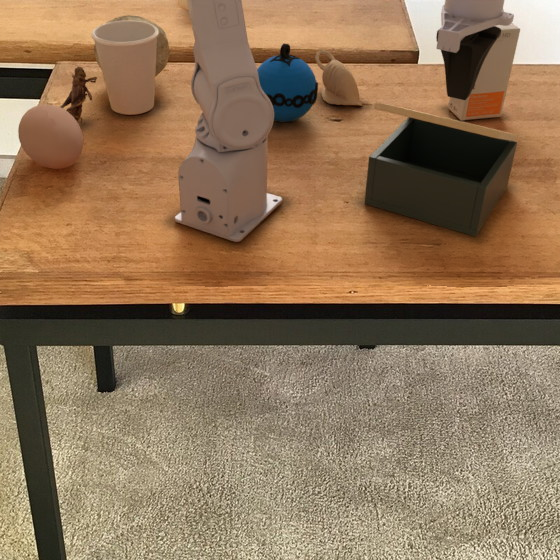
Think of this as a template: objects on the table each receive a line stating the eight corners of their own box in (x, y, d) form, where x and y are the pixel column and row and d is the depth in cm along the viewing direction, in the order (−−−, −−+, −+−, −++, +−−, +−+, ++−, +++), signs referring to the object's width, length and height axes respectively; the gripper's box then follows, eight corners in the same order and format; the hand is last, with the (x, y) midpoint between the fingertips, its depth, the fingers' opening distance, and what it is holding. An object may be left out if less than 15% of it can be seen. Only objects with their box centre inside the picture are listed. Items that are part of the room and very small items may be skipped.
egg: (11, 151, 92) (39, 188, 85) (5, 97, 88) (34, 131, 81) (66, 142, 95) (97, 176, 89) (63, 89, 91) (95, 121, 85)
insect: (66, 133, 100) (44, 124, 95) (77, 68, 100) (56, 56, 95) (96, 137, 99) (76, 128, 94) (107, 71, 99) (88, 59, 94)
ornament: (270, 100, 105) (271, 27, 99) (327, 114, 102) (331, 40, 96) (238, 124, 99) (237, 48, 93) (297, 140, 96) (300, 62, 90)
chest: (475, 237, 80) (486, 188, 76) (364, 204, 84) (368, 156, 81) (507, 187, 88) (517, 141, 84) (403, 160, 92) (409, 115, 89)
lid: (496, 138, 73) (498, 131, 73) (374, 108, 78) (375, 101, 78) (517, 141, 84) (519, 135, 84) (409, 115, 89) (410, 109, 89)
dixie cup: (158, 120, 99) (152, 44, 93) (94, 117, 100) (83, 41, 94) (169, 93, 106) (163, 20, 100) (108, 91, 106) (99, 18, 100)
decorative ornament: (336, 111, 103) (338, 73, 100) (309, 87, 109) (311, 50, 106) (363, 107, 104) (366, 68, 101) (335, 83, 110) (337, 46, 107)
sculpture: (107, 93, 109) (83, 37, 100) (107, 75, 111) (83, 19, 102) (177, 79, 108) (159, 22, 100) (176, 62, 110) (158, 5, 102)
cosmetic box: (461, 122, 101) (477, 31, 94) (447, 108, 104) (461, 20, 97) (502, 117, 102) (521, 28, 95) (487, 104, 106) (504, 16, 98)
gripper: (500, -10, 68) (473, 131, 76) (540, -47, 78) (513, 80, 86) (424, -23, 71) (406, 114, 79) (473, -57, 81) (453, 68, 89)
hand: (458, 96), depth 83 cm, fingers closed
